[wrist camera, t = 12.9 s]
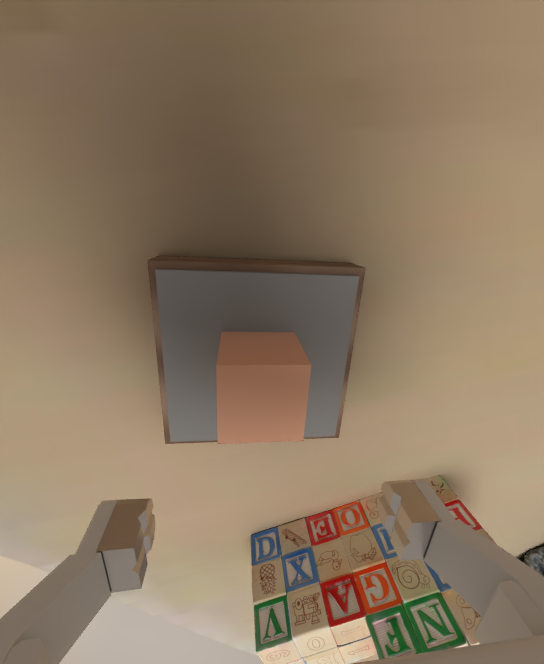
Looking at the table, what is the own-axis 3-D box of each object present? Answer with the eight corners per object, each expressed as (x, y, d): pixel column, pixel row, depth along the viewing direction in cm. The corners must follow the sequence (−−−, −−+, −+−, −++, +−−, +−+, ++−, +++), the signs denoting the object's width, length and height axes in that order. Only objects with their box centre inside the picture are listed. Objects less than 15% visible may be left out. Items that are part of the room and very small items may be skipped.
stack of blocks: (266, 567, 33) (281, 747, 22) (249, 532, 31) (255, 713, 20) (444, 511, 33) (552, 662, 22) (440, 472, 31) (558, 617, 20)
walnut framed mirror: (158, 255, 20) (145, 261, 18) (351, 263, 22) (367, 268, 19) (172, 422, 25) (164, 447, 22) (329, 418, 27) (340, 440, 24)
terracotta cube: (221, 331, 20) (216, 365, 15) (294, 332, 20) (311, 365, 16) (222, 395, 21) (217, 443, 17) (289, 394, 22) (303, 440, 17)
